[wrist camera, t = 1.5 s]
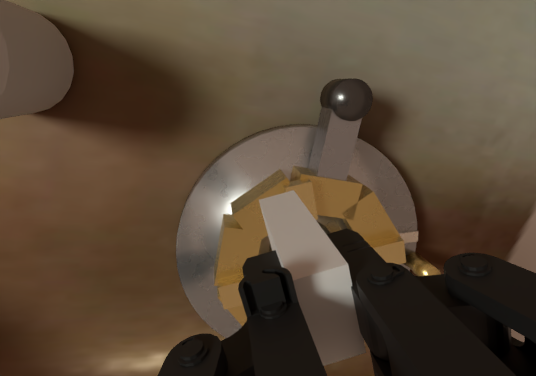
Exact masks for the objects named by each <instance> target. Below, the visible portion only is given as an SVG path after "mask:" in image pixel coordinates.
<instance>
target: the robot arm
mask: <svg viewBox="0 0 536 376" xmlns="http://www.w3.org/2000/svg"><path fill="white" fill-rule="evenodd" d="M259 203H260V207H261V210H262V214H263V218H264V222H265V225H266V229H267V233H268V237H269V240H270V244H271V248H272V251H270V252H267V253H264V254H260V255H257V256H253V257H250V258H247V259H246V261H245V263H244V265H243V267H242V269H243V276H244V278H243V279H242V280H241V281H240V283H239V287H238V291H239V294H240V297H241V300H242V304H243V307H244V310H245V313H246V317H247V321H246V322H245V324H244V325H243V326H242V327H241V328H240V329H239V330H238V331H237V332H236V333H234V334H233V335H231V336H229V337H228V338H226V339H224V340H222V341H220V340H219V338H218V337H217V336H214V335H212V334H198V335H194V336H191V337H189V338H187V339H185V340H183V341H181V342H180V343H179V344H177V345H176V346H175V347H174V348H173V349H172V350H171V351H170V353H169V354H168V356H167V357H166V359H165V361H164V363H163V365H162V367H161V370H160V372H159V374H158V376H327V374H326V371H325V369H324V365H328V364H331V363H334V362H337V361H341V360H344V359H347V358H350V357H353V356H357V355H360V354H363V353H366V351H365V346H364V341H363V338H364V340H365V342H366V343H367V345H368V347H369V349H370V353H371V358H372V363H373V369H374V374H375V376H536V273H534V272H531V271H529V270H526V269H524V268H521V267H519V266H516V265H514V264H511V263H509V262H506V261H504V260H501V259H499V258H497V257H494V256H490V255H486V254H480V253H464V254H460V255H457V256H453V257H451V258H450V259H448V260H447V261H446V262H445V265H444V274H441V275H429V276H414V275H413V274H412V273H411V272H410V271H409V270H408V269H406V268H405V267H403V266H401V265H399V264H395V263H386V261H385V260H384V259H383V258H382V257H381V256H380V255H379V254H378V253H377V252H376V251H375V250H374V249H373V248H372V247H371V246H370V245H369V244H368V243H367V242H366V241H365V240H364V238H363V237H362V236H361V235H360V234H359V233H358V232H355V231H352V230H350V229H347V228H346V229H343V230H339V231H336V232H332V233H329V234H326V233H325V232H324V231H323V229H322V228H321V227H320V225H319V224H318V222H317V221H316V220H315V218H314V217H313V216H312V214H311V213H310V212H309V210H308V209H307V207H306V206H305V205H304V203H303V202H302V201H301V199H300V198H299V197H298V195H297V194H296V193H295V191H294V190H292V191H289V192H285V193H282V194H278V195H274V196H271V197H267V198H264V199H260V200H259ZM511 329H513V330H515V331H516V332H518V333H520V334H522V335H524V336H525V342H521V341H519V340H517V339H515V338H513V337H512V336H511Z"/></svg>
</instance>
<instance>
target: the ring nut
mask: <svg viewBox="0 0 536 376" xmlns="http://www.w3.org/2000/svg"><path fill="white" fill-rule="evenodd" d="M320 102H321V106H322V108H321V113H320V117H319V122H318V126H317V130H316V135H315V139H314V144H313V148H312V153H311V157H310V162H309V166H308V168H304V167H298V166H293V168H292V173H291V178H290V181H289V180H288V178H287V177H286V176H285V174H284V173H283V172H282V171H281V169H279V170H278V171H276V172H275V173H273V174H272V175H270V176H269V177H267V178H266V179H265V180H263V181H262V182H260V183H259V184H257V185H256V186H254V187H253V188H252V189H250V190H249V191H247V192H246V193H244V194H243V195H241V196H240V197H239V198H237V199H236V200H234V201H233V202H231V209H232V215H227V214H223V219H222V225H221V230H220V236H219V242H218V248H217V254H216V259H215V265H214V286H217V296H218V299H219V300H220V301H221V302H222V304H223V308H224V310H225V309H228V310H229V312H230V313H231V314H232V315H233V316H234V317H235V319H236V320H237V321H238V322H239V323H240V324H241V326H243V325H244V324H245V322H246V321H247V317H246V313H245V310H244V307H243V304H242V300H241V297H240V294H239V291H238V287H239V283H240V281H241V280H242V279H243V278H244V276H243V269H242V267H243V265H244V263H245V261H246V259H247V258H250V257H253V256H257V255H258V254H259V249H260V244H261V240H262V239H263V238H265V237H266V236H268V233H267V229H266V225H265V222H264V218H263V214H262V210H261V207H260V203H259V200H260V199H264V198H267V197H271V196H274V195H278V194H282V193H285V192H289V191H292V190H294V191H295V193H296V194H297V195H298V197H299V198H300V199H301V201H302V202H303V203H304V205H305V206H306V207H307V209H308V210H309V212H310V213H311V214H312V216H313V217H314V218H315V220H318V216H317V215H321V216H328V217H335V218H342V220H343V221H344V223H345V225H346V226H347V228H348V229H350V230H352V231H355V232H358V233H359V234H360V235H361V236H362V237H363V238H364V240H365V241H366V242H367V243H368V244H369V245H370V246H371V247H372V248H373V249H374V250H375V251H376V252H377V253H378V254H379V255H380V256H381V257H382V258H383V259H384V260H385V261H386V263H395V264H403V263H406V256H405V245H404V240H403V239H402V238H401V236H400V234H399V233H398V231H397V230H396V228H395V226H394V225H393V223H392V221H391V220H390V218H389V216H388V215H387V213H386V211H385V210H384V208H383V206H382V205H381V203H380V201H379V200H378V198H377V196H376V195H375V193H374V191H372V190H371V189H369V188H368V187H366V186H365V185H363V184H362V183H360V182H359V181H357V180H356V179H354V178H353V177H351V176H350V175H348V172H349V168H350V164H351V160H352V156H353V152H354V148H355V144H356V140H357V136H358V132H359V128H360V124H361V120H362V118H363V117H364V116H365V115H366V114H367V113H368V111H369V110H370V108H371V105H372V92H371V89H370V88H369V86H368V85H367V84H366V83H365V82H364V81H362V80H359V79H335V80H332V81H330V82H329V83H328V84H326V86H325V87H324V88H323V90H322V92H321V97H320Z"/></svg>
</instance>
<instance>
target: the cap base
mask: <svg viewBox="0 0 536 376" xmlns="http://www.w3.org/2000/svg"><path fill="white" fill-rule="evenodd" d="M317 126H318V125H310V124H294V125H285V126H278V127H273V128H270V129H267V130H263V131H260V132H257V133H255V134H253V135H250V136H248V137H246V138H244V139H242V140H240V141H239V142H237V143H235V144H234V145H232V146H230V147H229V148H228V149H226V150H225V151H224V152H223V153H221V154H220V155H219V156H218V157H216V158H215V160H214V161H213V162H212V163H211V164H210V165H209V166H208V167H207V168H206V169H205V170H204V172H203V173H202V174H201V176H200V177H199V178H198V180H197V181H196V183H195V184H194V186H193V188H192V190H191V192H190V194H189V195H188V198H187V200H186V203H185V206H184V208H183V211H182V215H181V220H180V224H179V229H178V233H177V244H176V257H177V267H178V272H179V276H180V281H181V283H182V286H183V288H184V291H185V293H186V295H187V297H188V299H189V301H190V303H191V304H192V306H193V308H194V309H195V310H196V311H197V313H198V314H199V315H200V317H201V318H202V319H203V320H204V321H205V322H206V323H207V324H208V325H209V326H210V327H211V328H212V329H214V330H215V331H217V332H218V333H219V334H221V335H222V336H223V337H225V338H228V337H229V336H231V335H233V334H234V333H236V332H237V331H238V330H239V329H240V328H241V327H242V326H241V324H240V323H239V322H238V321H237V320H236V319H235V317H234V316H233V315H232V314H231V313H230V312H229V310H228V309H225V310H224V308H223V304H222V302H221V301H220V300H219V299H218V296H217V286H214V265H215V259H216V254H217V248H218V242H219V236H220V230H221V225H222V219H223V214H227V215H232V209H231V202H233V201H234V200H236V199H237V198H239V197H240V196H241V195H243V194H244V193H246V192H247V191H249V190H250V189H252V188H253V187H254V186H256V185H257V184H259V183H260V182H262V181H263V180H265V179H266V178H267V177H269V176H270V175H272V174H273V173H275V172H276V171H278V170H279V169H281V171H282V172H283V173H284V174H285V176H286V177H287V178H288V180H289V181H290V178H291V173H292V168H293V166H298V167H304V168H308V166H309V162H310V157H311V153H312V148H313V144H314V139H315V135H316V130H317ZM348 175H350V176H351V177H353V178H354V179H356V180H357V181H359V182H360V183H362V184H363V185H365V186H366V187H368V188H369V189H371V190H372V191H374V193H375V195H376V196H377V198H378V200H379V201H380V203H381V205H382V206H383V208H384V210H385V211H386V213H387V215H388V216H389V218H390V220H391V221H392V223H393V225H394V226H395V228H396V230H397V231H398V233H399V234H400V236H401V238H402V239H403V240H404V245H405V256H406V263H403V264H399V265H401V266H403V267H405V268H406V269H408V270H409V271H410V269H411V270H412V271H413V272H414V273H415V274H416V275H417V276H429V275H441V273H440V271H439V270H438V269H437V268H436V267H434V266H433V265H432V264H431V263H429V262H428V261H427V260H426V259H425V258H423V257H422V256H421V255H420V254H419V253H416V252H415V250H416V242H417V241H418V231H417V218H416V212H415V207H414V203H413V200H412V197H411V193H410V191H409V189H408V187H407V185H406V183H405V181H404V179H403V178H402V176H401V175H400V173H399V172H398V170H397V169H396V167H395V166H394V165H393V164H392V163H391V162H390V161H389V160H388V159H387V157H385V156H384V155H383V154H382V153H381V152H379V151H378V150H377V149H376V148H375V147H373V146H371V145H370V144H368V143H366V142H365V141H363V140H361V139H359V138H357V140H356V144H355V148H354V152H353V156H352V160H351V164H350V168H349V172H348ZM317 216H318V220H316V221H317V222H318V224H319V225H320V227H321V228H322V229H323V231H324V232H325V233H326V234H329V233H332V232H336V231H339V230H343V229H346V228H347V226H346V225H345V223H344V221H343V220H342V218H335V217H328V216H321V215H317ZM347 229H348V228H347ZM270 251H272V248H271V244H270V240H269V237H268V236H266V237H265V238H263V239H262V240H261V244H260V249H259V254H258V255H260V254H264V253H267V252H270Z"/></svg>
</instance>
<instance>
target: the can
mask: <svg viewBox="0 0 536 376" xmlns="http://www.w3.org/2000/svg"><path fill="white" fill-rule="evenodd" d="M73 74H74V67H73V57H72V53H71V51H70V49H69V46H68V44H67V41H66V39H65V38H64V37H63V35H62V34H61V33H60V32H59V30H58V29H57V28H56V26H55V25H54V24H52V23H51V22H50V21H48V20H47V19H46V18H44V17H43V16H42V15H40V14H39V13H36V12H34V11H31V10H29V9H26V8H24V7H21V6H19V5H16V4H14V3H11V2H9V1H6V0H0V119H2V118H8V117H14V116H20V115H26V114H32V113H36V112H40V111H43V110H47V109H50V108H51V107H53V106H54V105H55V104H57V103H58V102H60V101H61V100H62V99H63V97H64V96H65V94H66V93H67V91H68V90H69V88H70V86H71V82H72V78H73Z"/></svg>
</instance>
